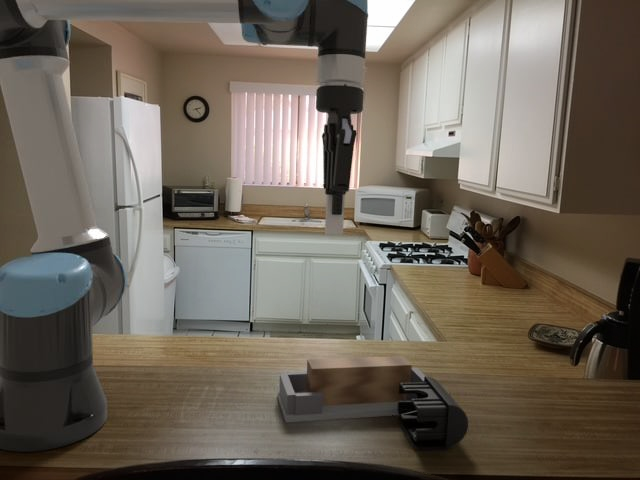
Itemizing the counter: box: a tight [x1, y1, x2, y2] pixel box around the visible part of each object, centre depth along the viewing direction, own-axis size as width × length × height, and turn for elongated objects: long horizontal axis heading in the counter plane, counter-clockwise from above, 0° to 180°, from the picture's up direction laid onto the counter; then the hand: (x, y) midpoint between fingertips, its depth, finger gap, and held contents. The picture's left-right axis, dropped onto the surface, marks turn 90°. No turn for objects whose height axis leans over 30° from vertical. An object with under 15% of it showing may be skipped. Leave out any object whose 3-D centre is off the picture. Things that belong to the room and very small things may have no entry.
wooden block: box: [306, 355, 413, 406], centre depth 85 cm, size 16×4×6 cm, turn 101°
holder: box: [277, 367, 426, 423], centre depth 85 cm, size 24×9×4 cm, turn 102°
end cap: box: [397, 375, 469, 452], centre depth 76 cm, size 10×7×7 cm
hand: (333, 234), depth 88 cm, fingers closed
